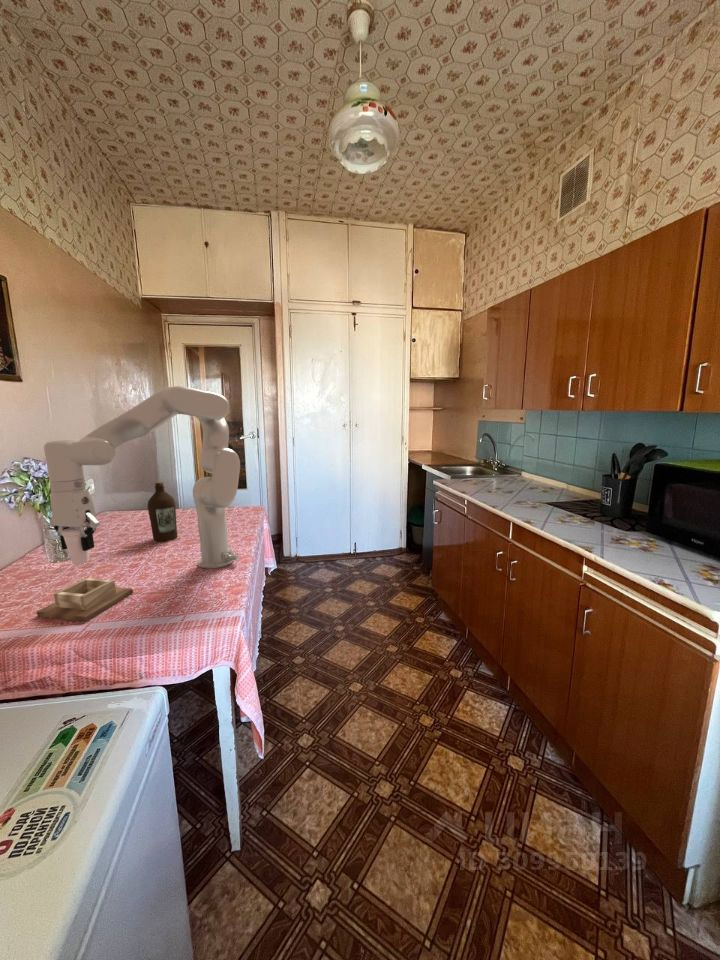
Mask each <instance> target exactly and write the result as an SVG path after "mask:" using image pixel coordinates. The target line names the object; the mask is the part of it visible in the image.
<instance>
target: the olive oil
mask: <svg viewBox="0 0 720 960" xmlns="http://www.w3.org/2000/svg"><path fill="white" fill-rule="evenodd" d="M154 489H155V491H154V493H153V494H152V496H151V497H150V498H149V499H148V501H147V510H148V511H147V512H148V516H149V522H150V528H151V533H152V539H153V542H155V541H156V542H155V543H164V541H166V542H170V540H171V541H172V540H173V539H174V540H175V538H176V539H177V538H178V528H177V527H178V524H177V512H176V501H175V499H174V497H173V496H172V495H170V494H169V493H168V492H167V491H165V485H164V482H163V481H157V482H154Z"/></svg>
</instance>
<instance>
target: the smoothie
mask: <svg viewBox="0 0 720 960" xmlns="http://www.w3.org/2000/svg"><path fill="white" fill-rule="evenodd" d="M65 528H66V527H65ZM84 529H85V531H86V530H87V528H86V527H85V528H84ZM61 535H62V536H63V537H64V540H65V543H66V546H67V549H66V550H67V551H68V554H69V557H70V561H71V563H72V565H81V564H84V563H87V562H88V561H89V556H90V555H89V554H90V553H89V550H90V549H89V550H87V551H83V550H82V543H81V537H83V536H82V534H81V532H80V530H79V528H76V527H70V528H66V529H64V530H62V531H61Z"/></svg>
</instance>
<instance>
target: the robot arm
mask: <svg viewBox="0 0 720 960" xmlns="http://www.w3.org/2000/svg"><path fill="white" fill-rule="evenodd" d="M229 412H230V403H229V402H228V400H227V398H226V397H225V396H224V395H221V394H220V393H217V392H216V393H215V392H211V391H205V390H200V389H197V388H196V389H195V388H191V387H187V386H180V385H177V386H176V385H175V386H168V387H163V388H161V389H160V390H158V391H156V392H155V393H153V394H152V395H150V396H149V397H147V398H146V399H144V400H143V401H141V402H140V403H139V404H136V405H135V406H132V408H130V409H128V410H127V411H125V412H123V413H122V414H120V415H118V416H117V417H114V418H113V419H111V420H109V421H108V422H106V423H104V424H103V425H101V426H99V427H98V428H96V429H95V430H92V431H91V432H90V433H88V434H86V435H85V436H84V437H82V438H81V439H80V440H79V441H75V440H69V439H67V440H52V441H48V442H46V443H45V444H44V445H43V451H44V457H45V462H46V468H47V475H48V481H49V487H50V509H51V518H50V520H49V524H50V525H51V526H52V527H53V528H54V530H55V531H56V532H57V536H59V539H60V544H61V549H62V550H68V549H67V546H66V543H65V540H64V537H63V536H62V535H61V531H62V530H64V529H66V528H70V527H76V528H79V530H80V532H81V534H82V536H83V537H81V543H82V550H83V551H87V550H91V549H94V548H95V540H94V534H95V531H97V528H98V527H99V526H100V521H99V520H98V519H97V515H96V510H95V506H94V501H93V498H92V495H91V494H90V491H89V489H87V488H86V487H87V483H86V482H85V480H86V479H85V475H84V467H83V466H103V465H105V466H106V465H108V464H110V463H111V462H112V461H113V460H115V458H116V456H117V455H116V454H117V451H116V449H117V448H118V447H121V446H122V445H123V444H125V443H127V442H129V441H132V440H136V439H138V438H142V437H143V438H144V437H145V436H147V435H149V434H152V433H153V432H154V431H156V429H158V428H160V427H161V426H162V425H164V424H165V423H166V422H168V421H170V420H171V419H172V418H174V417H175V416H177V415H184V416H190V417H195V418H196V419H197V420H198V422H199V423H200V424H201V427H202V432H203V433H202V445H201V453H200V458H199V463H200V464H199V465H200V467H201V469H202V470H203V471H204V472H206V473H209V474H211V476H204V477H200V478H199V479H198V480H196V481H195V483H194V485H193V488H192V498H193V502H194V505H195V509H196V515H197V525H198V534H199V545H200V554H201V558H199V559H198V560H197V566H198V567H199V568H201V569H209V570H211V569H212V570H213V569H219V568H220V569H221V568H223V567H226V566H229V565H231V564H232V563H234V561H238V560H239V552H233V549H232V548H231V547H230V546H229V535H228V523H227V520H228V519H227V512H226V508H227V507H230V506H231V505H232V504H233V503H234V501H235V499H236V497H237V493H238V487H239V479H240V474H241V472H240V471H241V460H240V458H239V455H238V453H237V452H236V451H234V450H233V449H231V448H229V439H230V429H229V425H228V422H227V420H226V419H225V418H226V417H227V415H229ZM85 527H86V528H87V530H86V531H85V529H84V528H85Z"/></svg>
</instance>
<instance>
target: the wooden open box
mask: <svg viewBox="0 0 720 960" xmlns="http://www.w3.org/2000/svg"><path fill="white" fill-rule="evenodd" d="M115 582H116V581H115V580H114V579H101V578H93V577H92V578H91V577H90V578H89V577H85V578H82V579H81V580H79V581H77V582H74V583H73V584H71V585H69V586H67V587H64V588H63V589H61V590H59V591H56V592H54V593H53V596H54V597H53V598H54V602H52V603H51V604H48V605H47V606H45V607H43V608H41V609H39V610H36V614H37V615H36V616H37V617H38V616H43V617H42V618H46V617H49V618H48V619H54V618H56V620H63V619H64V620H66V621H72V620H75V621H74V622H81V621H84V622H83V623H87V622H89V621H91V620H92V619H94V618H95V617H97V616H100V615H101V614H102V613H104V612H105V611H107V610H108V609H110V608H112V607H113V606H115V605H117V604H119V603H120V602H122V601H123V600H125V599H127V598H128V597H129V595H130V596H131V595H133V594H134V591H133V590H134V589H133V588H126V587H116V584H115ZM132 593H133V594H132ZM124 598H125V599H124ZM121 600H122V601H121ZM90 619H91V620H90ZM88 620H89V621H88Z"/></svg>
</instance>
